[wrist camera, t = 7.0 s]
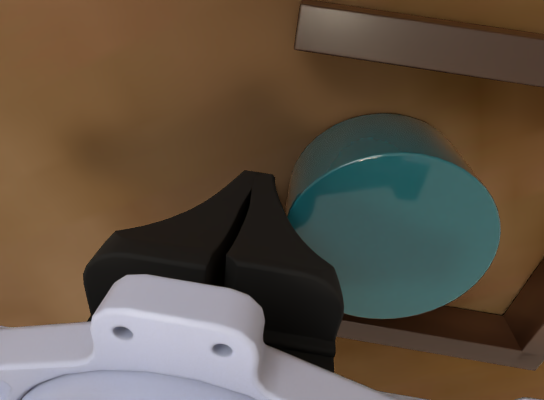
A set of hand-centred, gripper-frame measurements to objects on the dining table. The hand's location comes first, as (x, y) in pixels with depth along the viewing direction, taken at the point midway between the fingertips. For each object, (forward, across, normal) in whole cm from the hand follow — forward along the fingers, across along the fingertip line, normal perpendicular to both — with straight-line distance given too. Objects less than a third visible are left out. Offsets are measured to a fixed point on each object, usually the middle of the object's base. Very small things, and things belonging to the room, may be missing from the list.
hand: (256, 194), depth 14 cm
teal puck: (+1, -5, 0) cm, 5 cm away
